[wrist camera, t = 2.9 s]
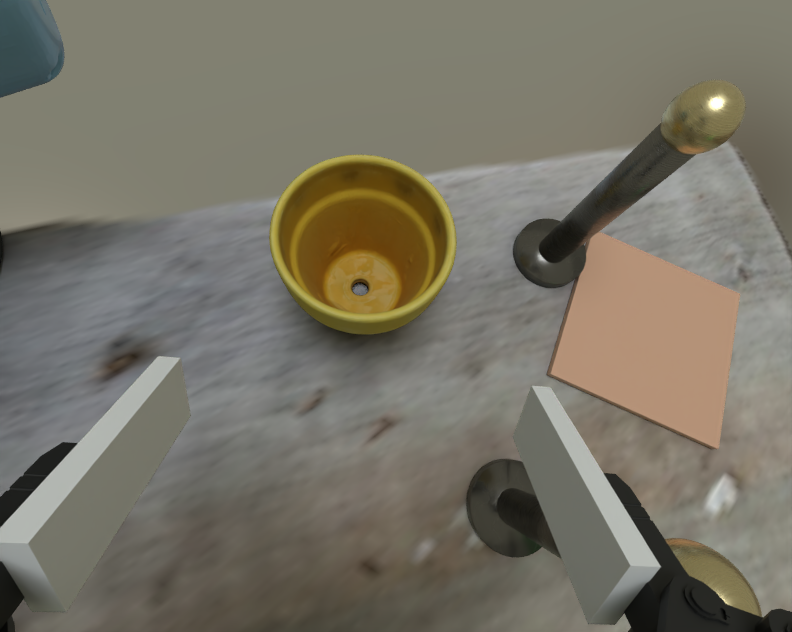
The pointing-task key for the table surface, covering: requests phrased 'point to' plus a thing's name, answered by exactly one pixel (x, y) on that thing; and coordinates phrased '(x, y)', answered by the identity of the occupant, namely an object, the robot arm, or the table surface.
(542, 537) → the iron post
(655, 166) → the iron post
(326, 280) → the plant pot
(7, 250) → the table surface
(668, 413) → the terracotta tile
